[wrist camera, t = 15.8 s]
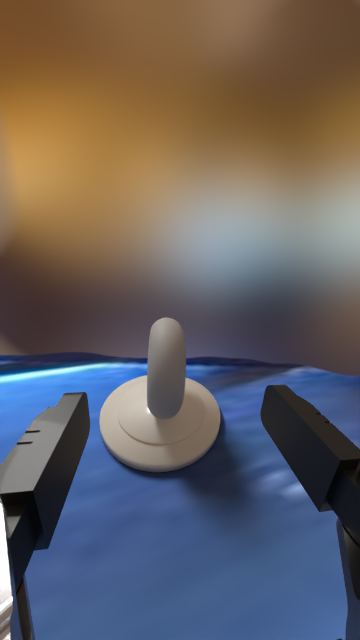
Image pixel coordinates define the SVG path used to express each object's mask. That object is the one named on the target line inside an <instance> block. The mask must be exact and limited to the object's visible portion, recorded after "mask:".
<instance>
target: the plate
mask: <svg viewBox="0 0 360 640" xmlns="http://www.w3.org/2000/svg"><path fill="white" fill-rule="evenodd" d="M219 426H220V410H219V407H218V404H217V402H216V400H215V398H214V397H213V395H212V394H211V393H210V392H209V391H208V390H207V389H206V388H205V387H203V386H202V385H200V384H199V383H197V382H195V381H193V380H191V379H189V378H186V379H185V392H184V399H183V403H182V406H181V408H180V411H179V412H178V413H177V414H176V415H175V416H173V417H172V418H169V419H158V418H157V417H155V416H153V415H152V413H151V412H150V411H149V408H148V406H147V375H146V376H141V377H138V378H135V379H133V380H130V381H128V382H126V383H124V384H123V385H121V386H120V387H118V388H117V389H116V390H114V391H113V392H112V393H111V394H110V396H109V397H108V398H107V399H106V401H105V403H104V405H103V407H102V409H101V413H100V431H101V437H102V440H103V443H104V444H105V446H106V448H107V449H108V451H109V452H110V453H111V454H112V455H113V456H114V457H115V458H116V459H117V460H119V461H120V462H122V463H123V464H125V465H127V466H130V467H132V468H134V469H138V470H142V471H148V472H168V471H174V470H178V469H181V468H184V467H186V466H188V465H191V464H193V463H194V462H196V461H197V460H199V459H201V458H202V457H203V456H204V455H205V454H206V453H207V452H208V451H209V450H210V449H211V447H212V446H213V444H214V442H215V441H216V438H217V435H218V432H219Z"/></svg>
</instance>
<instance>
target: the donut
mask: <svg viewBox="0 0 360 640" xmlns="http://www.w3.org/2000/svg"><path fill="white" fill-rule="evenodd" d="M185 379H186V350H185V339H184V333H183V330H182V328H181V326H180V324H179V323H178V322H177V321H175V320H173V319H171V318H162V319H159V320H158V321H156V322H155V323H154V324H153V326H152V328H151V333H150V339H149V351H148V369H147V406H148V408H149V411H150V412H151V413H152V415H153V416H155V417H157V418H158V419H169V418H172V417H173V416H175V415H176V414H177V413H178V412H179V411H180V408H181V406H182V403H183V399H184V392H185Z"/></svg>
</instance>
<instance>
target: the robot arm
mask: <svg viewBox="0 0 360 640" xmlns="http://www.w3.org/2000/svg"><path fill="white" fill-rule="evenodd" d="M261 420H262V423H263V426H264V427H265V429H266V431H267V432H268V434H269V435H270V437H271V438H272V440H273V441H274V443H275V444H276V446H277V447H278V449H279V451H280V452H281V454H282V455H283V457H284V458H285V460H286V461H287V463H288V464H289V466H290V468H291V469H292V471H293V472H294V474H295V475H296V477H297V478H298V480H299V481H300V483H301V485H302V486H303V488H304V489H305V491H306V492H307V494H308V495H309V497H310V498H311V500H312V501H313V503H314V505H315V506H316V508H317V509H318V511H319V512H323V511H330V510H333V511H334V512H335V513H336V515H337V516H338V518H337V521H336V528H337V534H338V541H339V548H340V554H341V561H342V568H343V574H344V581H345V588H346V594H347V603H348V615H347V622H346V640H360V449H359V448H358V447H357V446H355V445H354V444H353V443H352V442H351V441H350V440H349V439H348V438H347V437H346V436H345V435H344V434H343V433H342V432H341V431H339V430H338V429H337V428H336V427H335V426H334V425H333V424H332V423H330V421H329V420H328V419H327V418H326V417H325V416H323V415H321V413H320V412H319V411H318V410H317V409H316V408H315V407H314V406H313V405H312V404H311V403H309V402H307V401H306V400H304V399H303V398H301V397H299V396H297V395H296V394H295V393H294V392H293V391H292V390H291V389H290V388H289V387H288V386H286V385H268V386H267V387H266V390H265V394H264V399H263V403H262V408H261ZM89 430H90V417H89V408H88V399H87V394H86V393H85V392H80V393H65V394H64V395H63V396H62V398H61V399H60V401H59V402H58V404H57V405H56V407H48V408H47V409H46V410H45V411H43V412H42V413H41V414H40V415H38V416H37V417H36V418H35V419H34V420H33V422H32V423H31V424H30V426H29V427H28V428H27V430H26V432H25V434H23V435H22V437H21V438H20V439H19V441H18V442H17V445H16V446H14V448H13V449H12V450H11V452H10V453H9V454H8V456H7V457H6V459H5V460H4V461H3V463H2V464H1V465H0V640H35V635H34V629H33V623H32V616H31V610H30V603H29V597H28V590H27V584H26V577H25V571H26V568H27V566H28V563H29V561H30V558H31V556H32V553H33V551H35V550H42V549H48V547H49V545H50V542H51V539H52V536H53V534H54V531H55V528H56V525H57V522H58V520H59V517H60V514H61V511H62V509H63V506H64V503H65V500H66V497H67V495H68V492H69V489H70V486H71V484H72V481H73V478H74V475H75V472H76V470H77V467H78V464H79V461H80V459H81V456H82V453H83V450H84V447H85V445H86V442H87V439H88V436H89ZM337 640H342V639H337Z"/></svg>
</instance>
